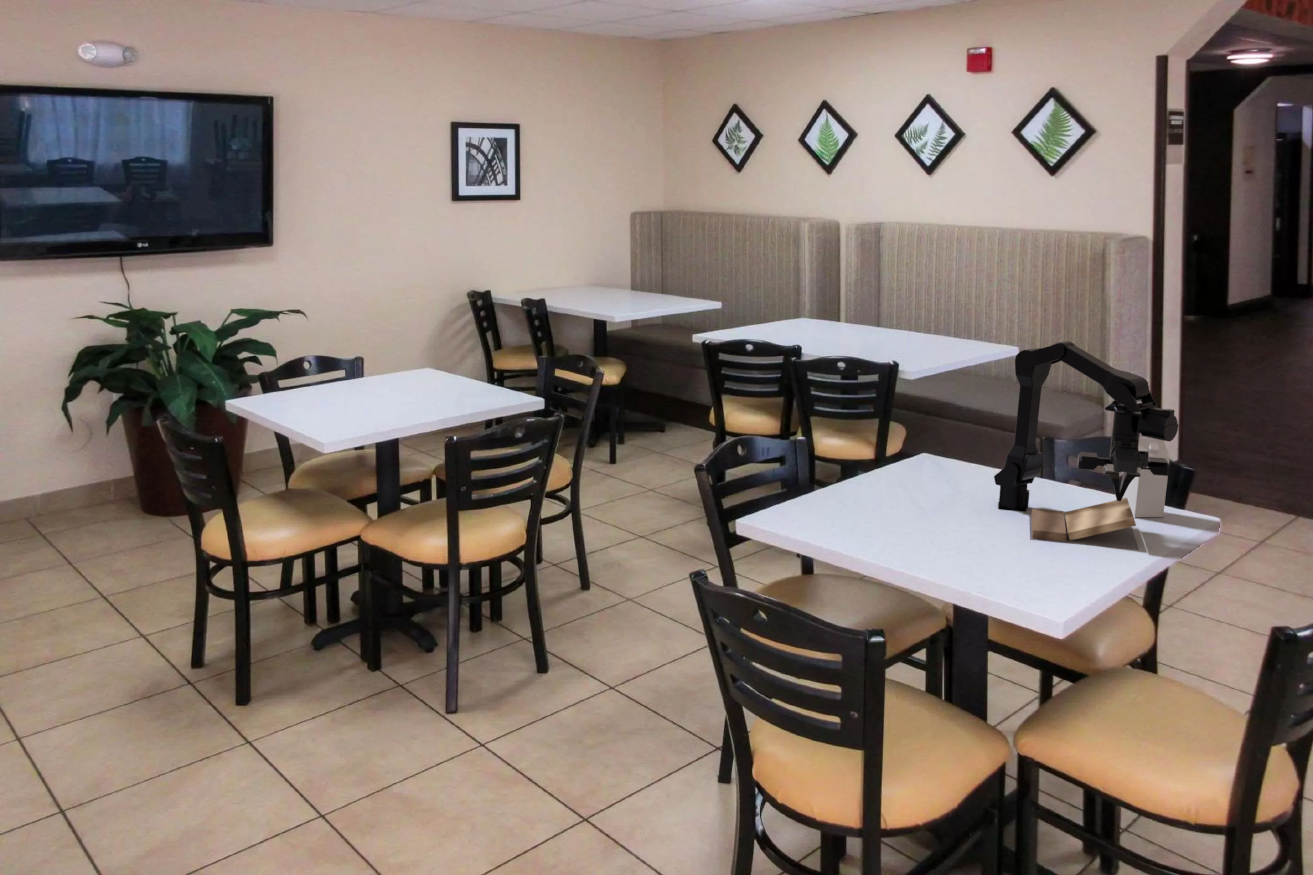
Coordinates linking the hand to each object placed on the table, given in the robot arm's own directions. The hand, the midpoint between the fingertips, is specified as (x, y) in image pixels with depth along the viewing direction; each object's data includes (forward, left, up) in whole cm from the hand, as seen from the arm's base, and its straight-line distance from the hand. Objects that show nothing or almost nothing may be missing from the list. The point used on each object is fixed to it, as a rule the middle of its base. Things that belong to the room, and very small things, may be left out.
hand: (1118, 500), depth 251 cm
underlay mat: (-7, 0, -8) cm, 11 cm away
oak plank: (-3, 0, -5) cm, 6 cm away
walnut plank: (-14, 0, -8) cm, 16 cm away
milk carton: (+8, +22, -9) cm, 25 cm away
